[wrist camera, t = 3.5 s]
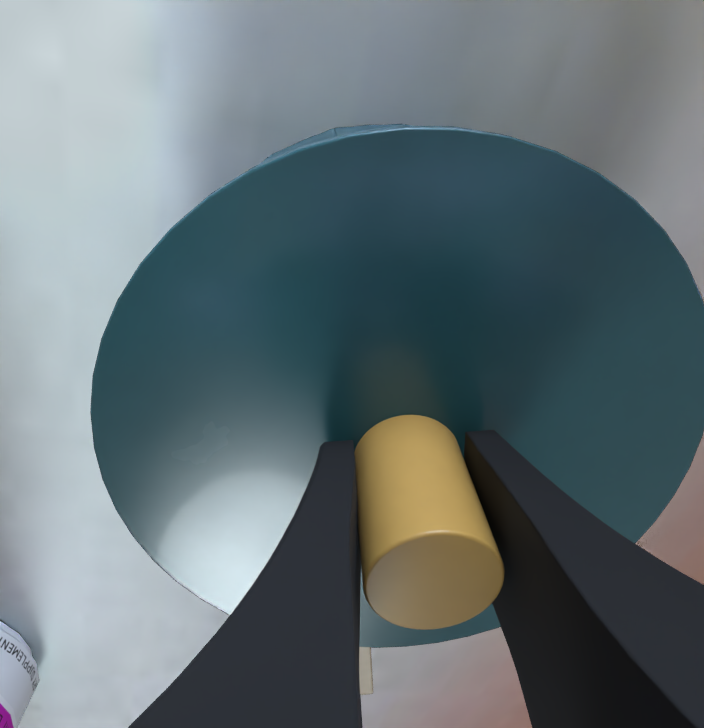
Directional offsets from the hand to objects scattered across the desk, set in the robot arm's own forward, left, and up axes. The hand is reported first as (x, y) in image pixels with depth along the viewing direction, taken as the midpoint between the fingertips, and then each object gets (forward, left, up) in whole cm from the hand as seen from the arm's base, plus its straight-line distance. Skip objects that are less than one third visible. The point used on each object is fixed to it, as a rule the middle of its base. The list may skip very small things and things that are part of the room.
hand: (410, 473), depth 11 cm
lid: (0, 0, -1) cm, 1 cm away
